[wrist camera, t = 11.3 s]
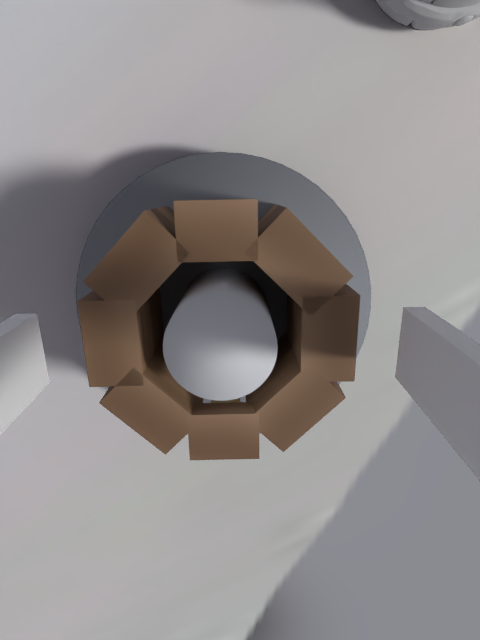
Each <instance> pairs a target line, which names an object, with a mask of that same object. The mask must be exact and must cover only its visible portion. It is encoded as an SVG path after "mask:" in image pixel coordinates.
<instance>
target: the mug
mask: <svg viewBox="0 0 480 640" xmlns="http://www.w3.org/2000/svg"><path fill="white" fill-rule="evenodd" d="M376 1H377V3H378V4H379V6H380V7H381V9H382V10H383V11H384V12H385V13H386V14H387V15H388V16H389V17H391V18H392V19H393V20H395V21H396V22H398V23H401V24H403V25H405V26H408V25H409V24H410V23H411V24H412V26H413V28H414V29H419V30H434V29H440V28H443V27H452V26H459V25H462V24H465V23H467V22H469V21H472V20H474V19H476V18H478V17H480V0H376Z"/></svg>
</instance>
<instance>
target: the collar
mask: <svg viewBox="0 0 480 640" xmlns="http://www.w3.org/2000/svg"><path fill="white" fill-rule="evenodd" d="M173 203H174V212H173V211H172V210H171V209H170V208H169V207H168V206H164V207H159V208H154V209H149V210H145V211H144V212H143V213H142V214H141V215H140V216H139V218H138V219H137V220H136V221H135V222H134V223H133V224H132V226H131V227H130V228H129V229H128V230H127V231H126V233H125V234H124V235H123V236H122V237H121V238H120V239H119V241H118V242H117V243H116V244H115V245H114V246H113V248H112V249H111V250H110V251H109V252H108V253H107V254H106V256H105V257H104V258H103V259H102V260H101V261H100V263H99V264H98V265H97V266H96V267H95V268H94V269H93V271H92V272H91V273H90V274H89V275H88V276H87V278H86V279H85V280H84V281H83V282H84V283H85V284H86V285H87V286H88V287H89V288H91V289H92V290H93V291H91V292H90V293H88V294H87V295H86V296H84V297H83V298H81V299H80V300H78V301H77V303H78V310H79V317H80V324H81V331H82V338H83V345H84V352H85V359H86V366H87V374H88V381H89V387H104V386H110V387H109V389H108V390H107V392H106V393H105V395H104V396H103V398H102V399H101V401H100V404H101V405H102V406H104V407H105V408H106V409H108V410H109V411H110V412H111V413H113V414H114V415H115V416H117V417H118V418H119V419H120V420H122V421H123V422H124V423H126V424H127V425H128V426H129V427H131V428H132V429H133V430H135V431H136V432H137V433H138V434H140V435H141V436H142V437H144V438H145V439H146V440H147V441H149V442H150V443H151V444H153V445H154V446H155V447H156V448H158V449H159V450H160V451H162V452H163V453H164V454H167V453H168V452H169V451H170V450H171V449H172V448H173V447H174V446H175V445H176V444H177V443H178V442H179V441H180V440H181V439H182V438H183V437H184V436H186V435H187V434H188V436H189V451H190V460H218V459H259V432H260V433H262V434H263V435H264V436H265V437H266V438H268V439H269V440H270V441H271V442H272V443H273V444H275V445H276V446H277V447H278V448H279V449H280V450H282V451H283V452H284V451H285V450H286V449H287V448H289V447H290V446H291V445H292V444H293V443H294V442H295V441H297V440H298V439H299V438H300V437H301V436H302V435H303V434H305V433H306V432H307V431H308V430H309V429H310V428H312V427H313V426H314V425H315V424H316V423H317V422H318V421H320V420H321V419H322V418H323V417H324V416H325V415H326V414H328V413H329V412H330V411H331V410H332V409H333V408H335V407H336V406H337V405H338V404H339V403H340V402H341V401H343V400H344V399H345V398H346V397H345V395H344V394H343V392H342V390H341V388H340V386H339V384H338V382H340V381H354V379H355V365H356V351H357V337H358V323H359V309H360V295H359V294H358V293H357V292H356V291H355V290H353V289H352V288H351V287H350V286H349V285H347V284H346V283H347V282H348V281H349V280H350V279H351V278H352V277H353V275H352V274H351V273H350V272H349V271H348V270H347V269H346V268H345V267H344V266H343V265H342V264H341V263H340V262H339V261H338V260H337V259H336V258H335V257H334V256H333V255H332V254H331V252H330V251H329V250H328V249H327V248H326V247H325V246H324V245H323V244H322V243H321V242H320V241H319V240H318V239H317V238H316V237H315V236H314V235H313V234H312V233H311V232H310V231H309V230H308V229H307V228H306V227H305V226H304V225H303V224H302V223H301V221H300V220H299V219H298V218H297V217H296V216H295V215H294V214H293V213H292V212H291V211H290V210H289V209H288V208H287V207H283V206H280V205H277V204H274V205H273V206H272V207H271V208H270V209H269V210H268V211H267V212H266V213H265V214H264V215H263V216H262V217H261V219H260V220H259V221H258V199H216V200H176V201H173ZM228 261H254V262H255V263H256V264H257V265H258V266H259V267H260V268H261V269H262V270H263V271H264V272H265V273H266V274H267V275H268V276H269V277H270V278H271V279H273V280H274V281H275V282H276V283H277V284H278V285H279V286H280V287H281V288H282V289H283V290H284V291H285V292H286V293H287V319H286V332H285V333H284V334H283V335H282V336H281V337H280V338H279V339H278V340H277V346H278V350H277V358H276V362H275V365H274V368H273V370H272V372H271V373H270V375H269V376H268V378H267V379H266V381H265V382H264V383H263V384H262V385H261V386H260V387H258V388H257V389H256V390H254V391H253V392H251V393H250V394H248V395H246V402H232V403H203V398H201V397H199V396H196V395H194V394H192V393H190V392H189V391H187V390H186V389H184V388H183V387H182V386H181V385H180V384H179V383H177V381H176V380H175V379H174V378H173V377H172V375H171V373H170V372H169V370H168V368H167V365H166V363H165V359H164V354H163V339H164V334H163V323H162V311H161V298H160V286H161V285H162V284H163V282H164V281H165V280H166V279H167V278H168V277H169V276H170V275H171V274H172V273H173V272H174V271H175V270H176V268H177V267H178V266H179V265H180V264H181V263H182V262H228Z"/></svg>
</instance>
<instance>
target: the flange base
mask: <svg viewBox="0 0 480 640" xmlns="http://www.w3.org/2000/svg"><path fill="white" fill-rule="evenodd" d="M216 199H258V221H259V220H260V219H261V217H262V216H263V215H264V214H265V213H266V212H267V211H268V210H269V209H270V208H271V207H272V206H273V205H274V204H277V205H280V206H283V207H287V208H288V209H289V210H290V211H291V212H292V213H293V214H294V215H295V216H296V217H297V218H298V219H299V220H300V221H301V223H302V224H303V225H304V226H305V227H306V228H307V229H308V230H309V231H310V232H311V233H312V234H313V235H314V236H315V237H316V238H317V239H318V240H319V241H320V242H321V243H322V244H323V245H324V246H325V247H326V248H327V249H328V250H329V251H330V252H331V254H332V255H333V256H334V257H335V258H336V259H337V260H338V261H339V262H340V263H341V264H342V265H343V266H344V267H345V268H346V269H347V270H348V271H349V272H350V273H351V274H352V275H353V277H352V278H351V279H350V280H349V281H348V282H347V283H346V284H347V285H349V286H350V287H351V288H352V289H353V290H355V291H356V292H357V293H358V294H359V295H360V309H359V323H358V337H357V351H356V358H357V355H358V353H359V351H360V348H361V346H362V344H363V341H364V337H365V334H366V330H367V327H368V322H369V315H370V308H371V285H370V277H369V270H368V266H367V262H366V258H365V254H364V251H363V249H362V246H361V244H360V241H359V239H358V237H357V234H356V232H355V231H354V229H353V227H352V226H351V224H350V222H349V221H348V219H347V217H346V216H345V214H344V213H343V212H342V211H341V209H340V208H339V207H338V206H337V204H336V203H335V202H334V201H333V200H332V199H331V198H330V197H329V196H328V195H327V194H326V193H325V192H324V191H323V190H322V189H321V188H320V187H319V186H317V185H316V184H314V183H313V182H312V181H310V180H309V179H307V178H306V177H304V176H303V175H302V174H300V173H298V172H296V171H294V170H292V169H290V168H288V167H286V166H284V165H282V164H280V163H277V162H274V161H271V160H268V159H265V158H262V157H257V156H252V155H247V154H242V153H226V152H216V153H204V154H196V155H192V156H188V157H183V158H179V159H176V160H173V161H171V162H168V163H166V164H163V165H160V166H158V167H156V168H154V169H153V170H151V171H149V172H147V173H145V174H144V175H142V176H140V177H139V178H137V179H136V180H135V181H133V182H132V183H131V184H130V185H128V186H127V187H126V188H124V189H123V190H122V191H121V192H120V193H119V194H118V195H117V196H116V197H115V198H114V199H113V200H112V201H111V202H110V203H109V205H108V206H107V207H106V209H105V210H104V211H103V213H102V214H101V216H100V217H99V218H98V220H97V221H96V223H95V225H94V227H93V229H92V231H91V233H90V235H89V237H88V239H87V241H86V244H85V247H84V250H83V253H82V255H81V260H80V264H79V269H78V274H77V287H76V300H77V301H78V300H80V299H81V298H83V297H84V296H86V295H87V294H88V293H90V292H91V291H93V290H92V289H91V288H89V287H88V286H87V285H86V284H85V283H84V282H83V281H84V280H85V279H86V278H87V276H88V275H89V274H90V273H91V272H92V271H93V269H94V268H95V267H96V266H97V265H98V264H99V263H100V261H101V260H102V259H103V258H104V257H105V256H106V254H107V253H108V252H109V251H110V250H111V249H112V248H113V246H114V245H115V244H116V243H117V242H118V241H119V239H120V238H121V237H122V236H123V235H124V234H125V233H126V231H127V230H128V229H129V228H130V227H131V226H132V224H133V223H134V222H135V221H136V220H137V219H138V218H139V216H140V215H141V214H142V213H143V212H144V211H145V210H149V209H154V208H159V207H164V206H168V207H169V208H170V209H171V210H172V211H173V212H174V203H173V201H176V200H216ZM160 298H161V311H162V323H163V334H164V339H163V354H164V359H165V363H166V365H167V368H168V370H169V372H170V373H171V375H172V377H173V378H174V379H175V380H176V381H177V383H179V384H180V385H181V386H182V387H183V388H184V389H186V390H187V391H189V392H190V393H192V394H194V395H196V396H199V397H201V398H203V403H232V402H246V395H248V394H250V393H251V392H253V391H254V390H256V389H257V388H258V387H260V386H261V385H262V384H263V383H264V382H265V381H266V379H267V378H268V376H269V375H270V373H271V372H272V370H273V368H274V365H275V362H276V358H277V350H278V346H277V340H278V339H279V338H280V337H281V336H282V335H283V334H284V333H285V332H286V319H287V293H286V292H285V291H284V290H283V289H282V288H281V287H280V286H279V285H278V284H277V283H276V282H275V281H274V280H273V279H271V278H270V277H269V276H268V275H267V274H266V273H265V272H264V271H263V270H262V269H261V268H260V267H259V266H258V265H257V264H256V263H255V262H254V261H228V262H182V263H181V264H180V265H179V266H178V267H177V268H176V270H175V271H174V272H173V273H172V274H171V275H170V276H169V277H168V278H167V279H166V280H165V281H164V282H163V284H162V285H161V286H160ZM77 313H78V318H79V323H80V317H79V310H78V303H77ZM80 327H81V324H80ZM81 332H82V331H81ZM340 382H341V381H340ZM340 382H338V384H340ZM259 433H260V432H259Z"/></svg>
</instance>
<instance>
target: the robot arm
mask: <svg viewBox="0 0 480 640" xmlns="http://www.w3.org/2000/svg"><path fill="white" fill-rule="evenodd" d="M395 377H396V378H397V380H398V381H399V382H400V383H401V385H402V386H403V387H404V388H405V390H406V391H407V392H408V393H409V394H410V396H411V397H412V398H413V399H414V401H415V402H416V403H417V404H418V406H419V407H420V408H421V409H422V410H423V412H424V413H425V414H426V415H427V417H428V418H429V419H430V420H431V422H432V423H433V424H434V425H435V426H436V428H437V429H438V430H439V431H440V433H441V434H442V435H443V436H444V438H445V439H446V440H447V441H448V442H449V444H450V445H451V446H452V447H453V449H454V450H455V451H456V452H457V454H458V455H459V456H460V457H461V459H462V460H463V461H464V462H465V463H466V465H467V466H468V467H469V468H470V469H471V471H472V472H473V473H474V475H475V476H476V477H477V478H478V479H479V481H480V343H478V342H477V341H475V340H474V339H472V338H471V337H469V336H468V335H466V334H465V333H463V332H462V331H460V330H459V329H457V328H456V327H454V326H453V325H451V324H450V323H448V322H447V321H445V320H444V319H442V318H440V317H439V316H437V315H436V314H434V313H433V312H431V311H430V310H428V309H427V308H425V307H403V315H402V323H401V332H400V340H399V349H398V358H397V366H396V375H395ZM49 383H50V382H49V377H48V371H47V366H46V360H45V355H44V349H43V344H42V338H41V333H40V327H39V322H38V316H37V313H25V314H14V315H12V316H11V317H9V318H7V319H6V320H4V321H2V322H1V323H0V435H1V434H2V433H3V432H4V430H5V429H6V428H7V427H8V426H9V425H10V424H11V423H12V422H13V421H14V420H15V419H16V418H17V417H18V416H19V415H20V413H21V412H22V411H23V410H24V409H25V408H26V407H27V406H28V405H29V404H30V403H31V402H32V401H33V400H34V399H35V397H36V396H37V395H38V394H39V393H40V392H41V391H42V390H43V389H44V388H45V387H46V386H47V385H48V384H49Z"/></svg>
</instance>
